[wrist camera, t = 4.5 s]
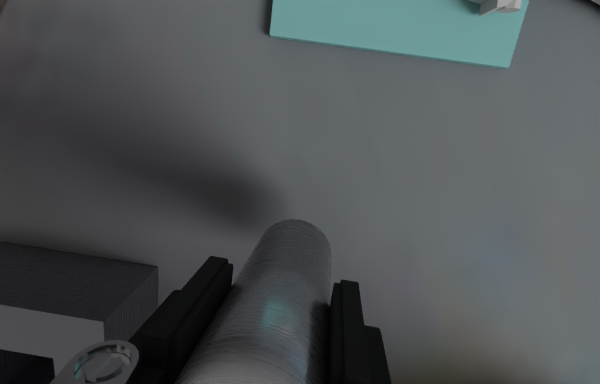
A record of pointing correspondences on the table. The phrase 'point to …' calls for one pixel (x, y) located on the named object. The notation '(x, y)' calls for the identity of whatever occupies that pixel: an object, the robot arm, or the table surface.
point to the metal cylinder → (271, 315)
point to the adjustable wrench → (502, 6)
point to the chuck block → (65, 307)
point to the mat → (403, 28)
